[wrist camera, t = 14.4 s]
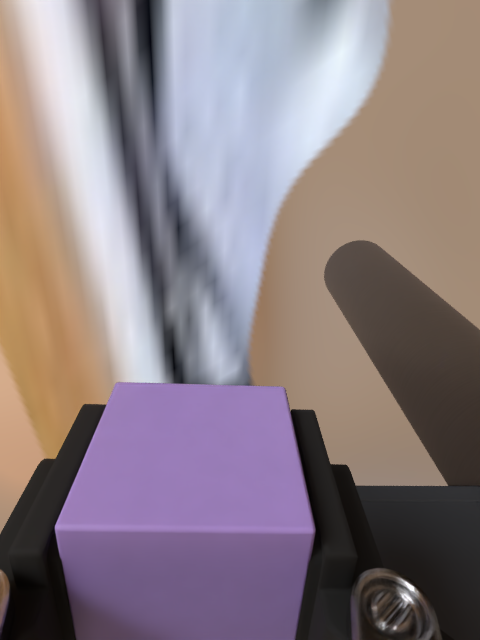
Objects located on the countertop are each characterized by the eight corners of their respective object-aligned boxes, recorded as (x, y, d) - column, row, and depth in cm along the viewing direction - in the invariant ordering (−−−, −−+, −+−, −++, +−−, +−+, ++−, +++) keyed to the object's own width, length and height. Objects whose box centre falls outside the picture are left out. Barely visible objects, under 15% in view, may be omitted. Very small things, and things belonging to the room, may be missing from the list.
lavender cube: (271, 507, 12) (291, 677, 8) (125, 505, 12) (79, 677, 8) (285, 385, 10) (317, 531, 7) (115, 380, 10) (52, 527, 6)
